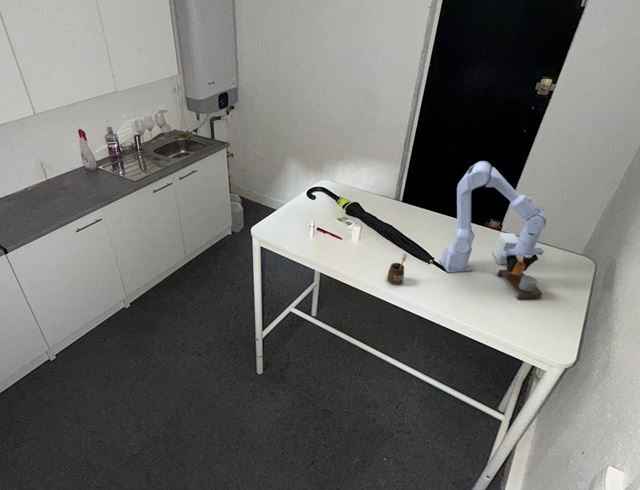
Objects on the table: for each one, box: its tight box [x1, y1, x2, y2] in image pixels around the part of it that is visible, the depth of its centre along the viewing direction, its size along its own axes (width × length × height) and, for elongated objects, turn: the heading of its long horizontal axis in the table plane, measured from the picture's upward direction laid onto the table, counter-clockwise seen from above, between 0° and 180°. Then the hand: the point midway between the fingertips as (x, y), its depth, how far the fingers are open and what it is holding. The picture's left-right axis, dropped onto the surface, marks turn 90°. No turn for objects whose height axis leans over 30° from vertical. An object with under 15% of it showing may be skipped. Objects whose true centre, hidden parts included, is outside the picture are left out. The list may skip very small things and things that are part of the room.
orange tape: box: [510, 259, 526, 275], centre depth 155 cm, size 5×5×4 cm
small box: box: [493, 232, 519, 265], centre depth 167 cm, size 8×6×10 cm
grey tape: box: [519, 275, 538, 292], centre depth 150 cm, size 5×5×4 cm
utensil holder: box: [387, 252, 408, 285], centre depth 159 cm, size 6×6×12 cm
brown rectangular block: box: [496, 269, 543, 300], centre depth 155 cm, size 8×15×3 cm, turn 2°
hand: (515, 270), depth 156 cm, fingers closed on orange tape, 5 cm apart
